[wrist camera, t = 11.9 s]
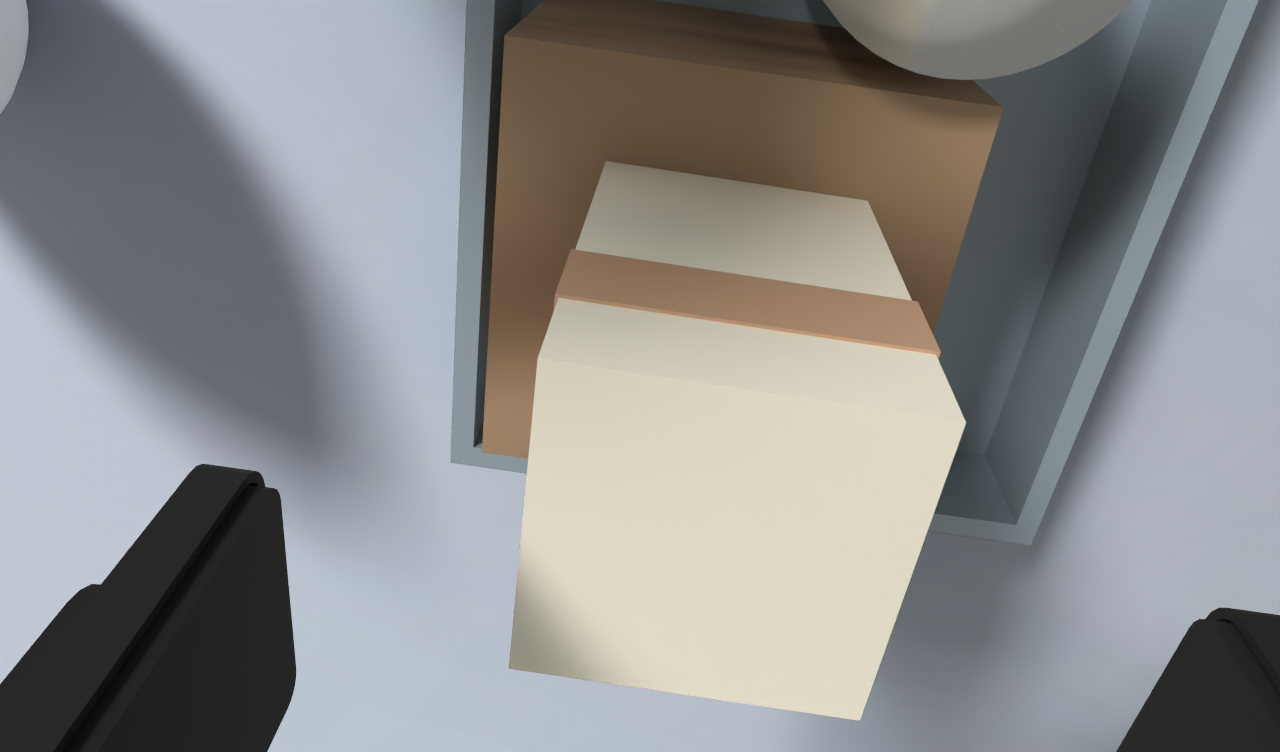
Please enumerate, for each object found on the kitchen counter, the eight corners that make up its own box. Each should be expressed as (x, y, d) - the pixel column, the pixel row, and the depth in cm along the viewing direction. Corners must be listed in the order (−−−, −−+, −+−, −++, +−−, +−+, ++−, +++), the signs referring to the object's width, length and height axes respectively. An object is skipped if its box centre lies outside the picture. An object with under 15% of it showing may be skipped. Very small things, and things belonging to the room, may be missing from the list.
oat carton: (603, 158, 18) (533, 353, 11) (871, 198, 18) (972, 419, 11) (576, 389, 20) (505, 670, 13) (810, 425, 20) (862, 723, 13)
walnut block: (559, -14, 23) (504, 35, 17) (926, 39, 23) (1003, 107, 17) (533, 318, 27) (481, 452, 21) (841, 363, 27) (878, 509, 21)
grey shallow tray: (524, -438, 20) (484, -501, 16) (1287, -327, 20) (1410, -365, 16) (481, 389, 29) (450, 462, 26) (993, 463, 29) (1031, 545, 26)
